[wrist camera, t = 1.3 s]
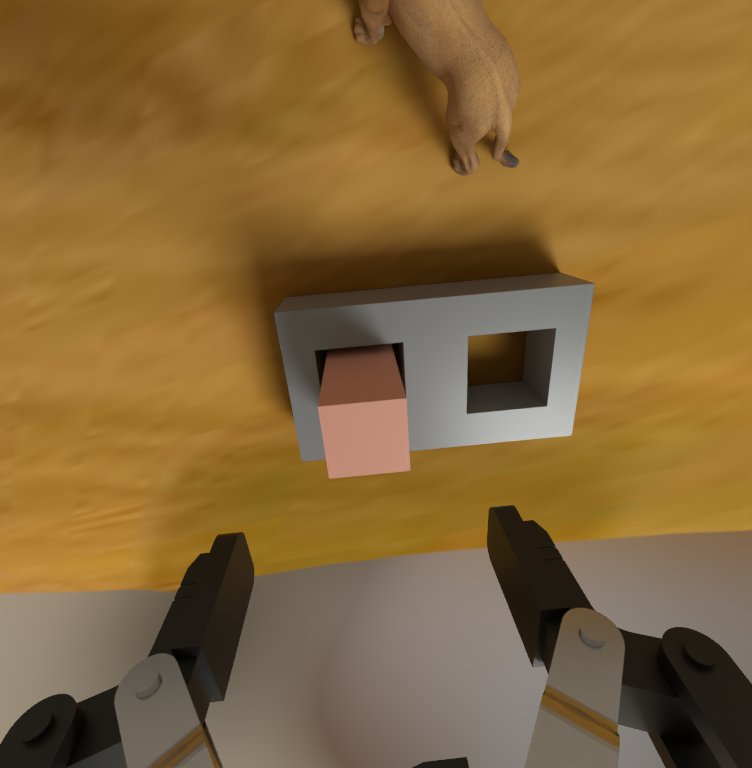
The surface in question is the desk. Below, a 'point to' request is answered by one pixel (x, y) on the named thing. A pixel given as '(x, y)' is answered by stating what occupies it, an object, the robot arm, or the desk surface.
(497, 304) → the pocket board
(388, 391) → the peg
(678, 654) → the robot arm
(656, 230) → the desk surface
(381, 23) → the lion figurine
